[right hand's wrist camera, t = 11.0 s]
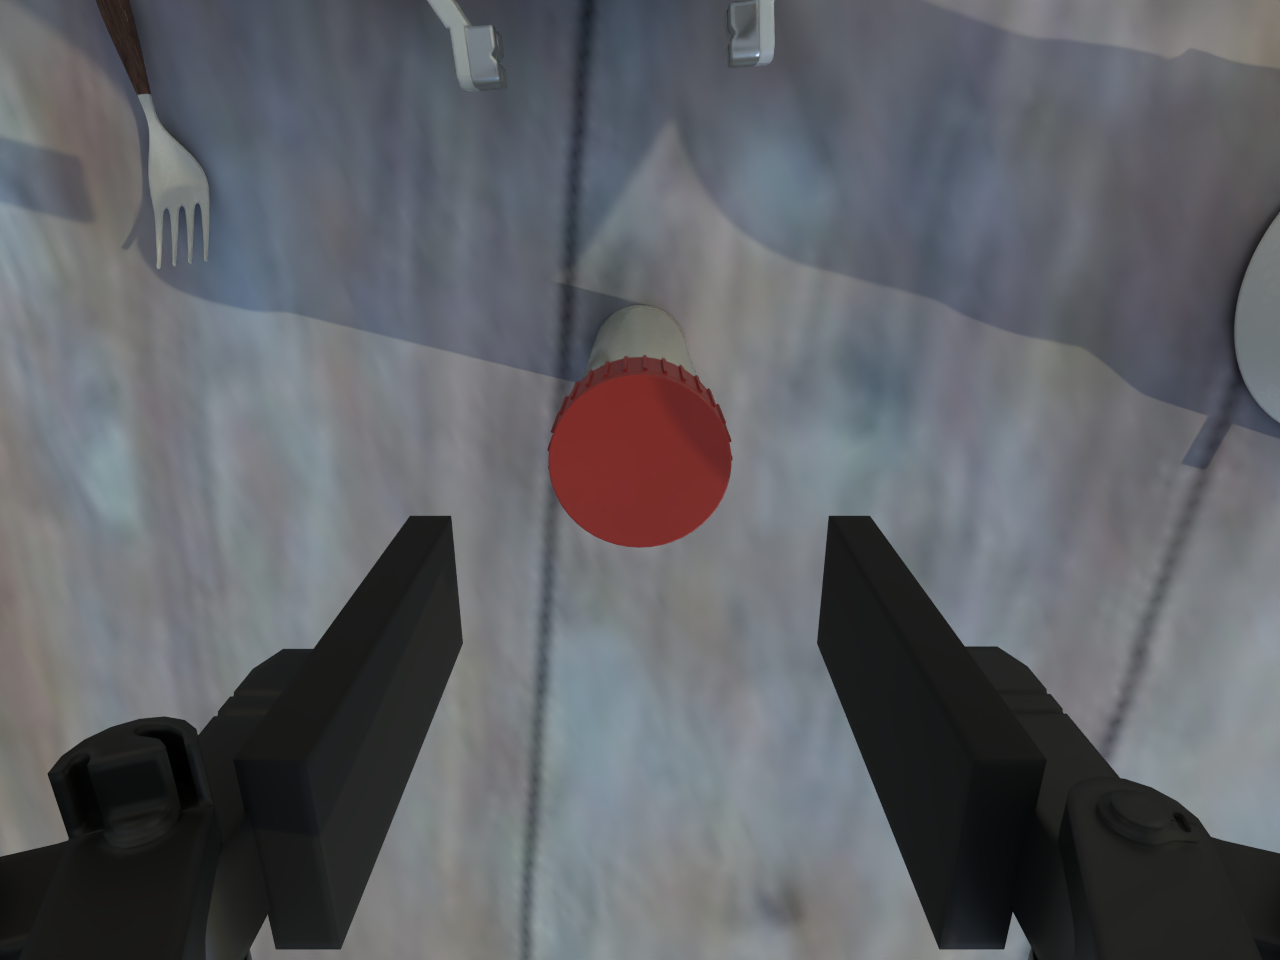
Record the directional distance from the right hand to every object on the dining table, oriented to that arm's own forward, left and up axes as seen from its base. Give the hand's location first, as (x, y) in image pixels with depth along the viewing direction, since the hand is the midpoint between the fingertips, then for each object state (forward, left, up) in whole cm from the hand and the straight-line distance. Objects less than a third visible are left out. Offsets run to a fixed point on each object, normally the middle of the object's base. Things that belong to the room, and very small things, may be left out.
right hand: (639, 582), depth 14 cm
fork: (-15, +19, -23) cm, 33 cm away
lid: (0, 0, -7) cm, 7 cm away
